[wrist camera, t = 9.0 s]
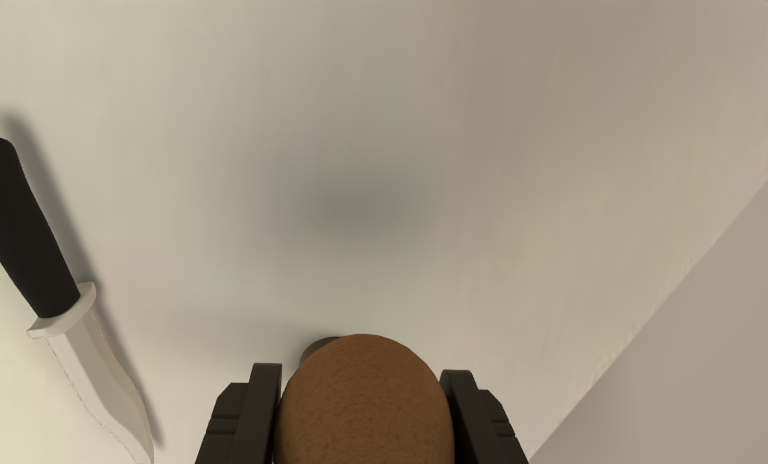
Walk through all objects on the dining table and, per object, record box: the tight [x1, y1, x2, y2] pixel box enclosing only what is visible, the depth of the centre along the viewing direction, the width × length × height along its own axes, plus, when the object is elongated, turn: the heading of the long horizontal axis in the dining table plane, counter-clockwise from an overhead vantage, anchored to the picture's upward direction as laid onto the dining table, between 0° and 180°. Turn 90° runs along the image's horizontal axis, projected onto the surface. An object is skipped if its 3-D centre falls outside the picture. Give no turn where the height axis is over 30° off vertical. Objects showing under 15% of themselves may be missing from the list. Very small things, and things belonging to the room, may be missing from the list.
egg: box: [272, 334, 455, 464], centre depth 10 cm, size 4×4×6 cm
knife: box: [0, 138, 154, 464], centre depth 24 cm, size 25×2×5 cm, turn 6°
